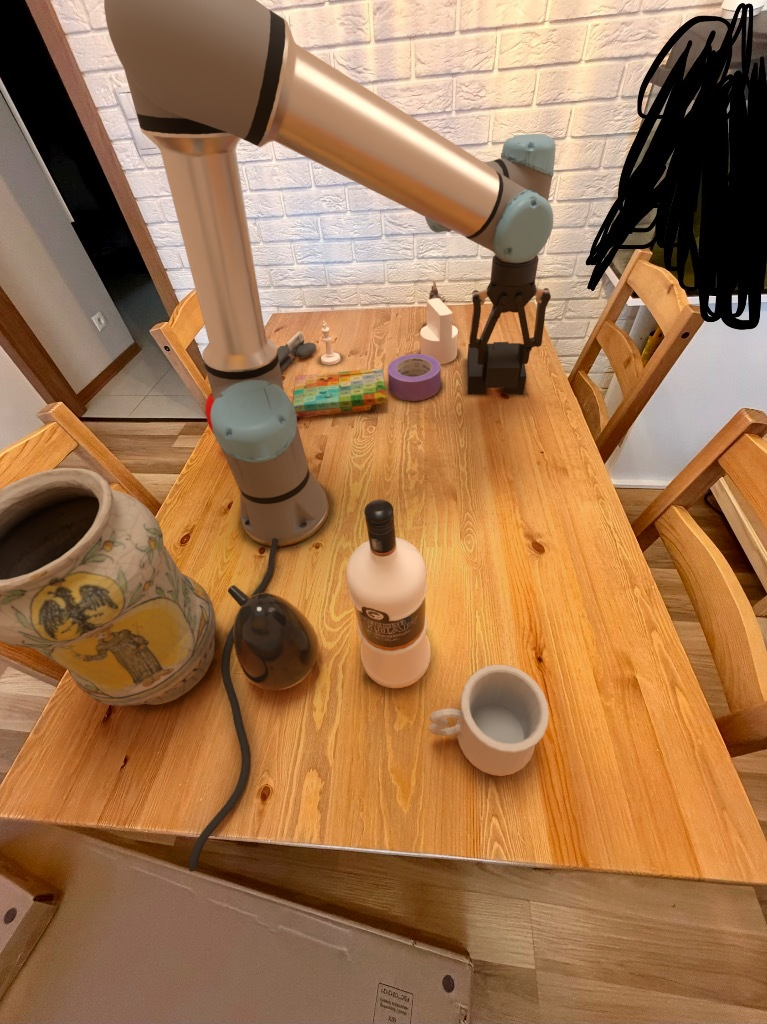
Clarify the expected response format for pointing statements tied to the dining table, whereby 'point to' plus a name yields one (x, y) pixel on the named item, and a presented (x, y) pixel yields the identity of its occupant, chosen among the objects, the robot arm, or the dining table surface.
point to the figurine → (435, 294)
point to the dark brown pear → (272, 640)
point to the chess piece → (328, 348)
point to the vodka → (389, 601)
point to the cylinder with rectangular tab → (439, 333)
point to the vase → (99, 590)
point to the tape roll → (414, 377)
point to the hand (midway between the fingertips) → (500, 377)
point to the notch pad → (476, 373)
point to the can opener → (294, 350)
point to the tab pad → (502, 366)
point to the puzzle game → (338, 392)
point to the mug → (497, 719)
